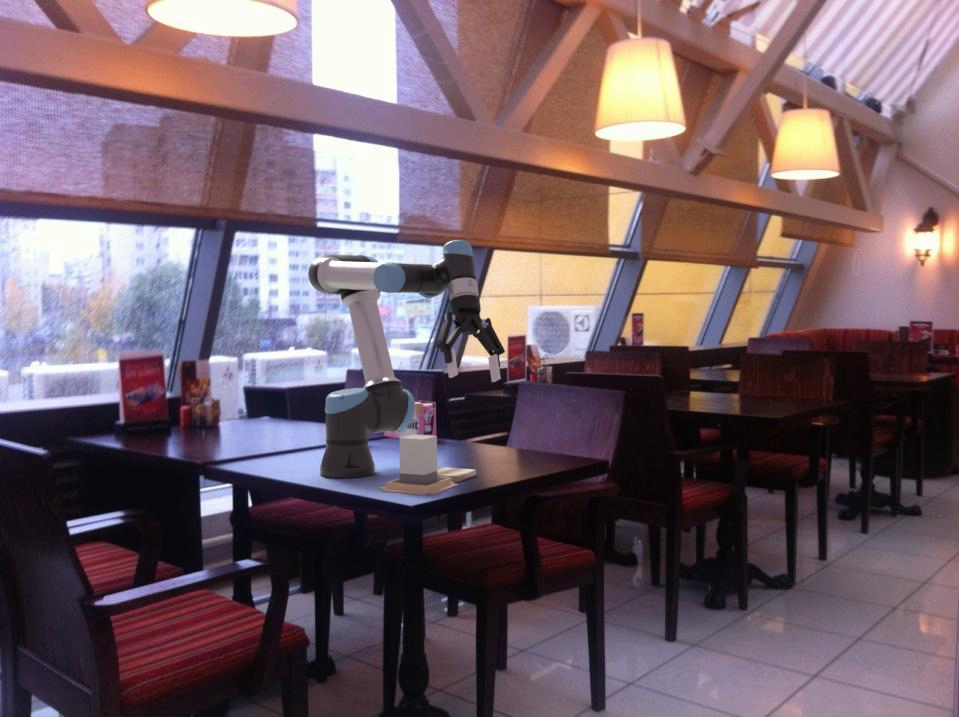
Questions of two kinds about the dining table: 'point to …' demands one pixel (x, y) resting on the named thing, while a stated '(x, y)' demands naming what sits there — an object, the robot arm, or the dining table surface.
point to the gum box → (419, 421)
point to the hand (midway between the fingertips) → (475, 378)
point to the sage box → (418, 459)
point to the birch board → (455, 473)
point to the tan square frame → (419, 487)
